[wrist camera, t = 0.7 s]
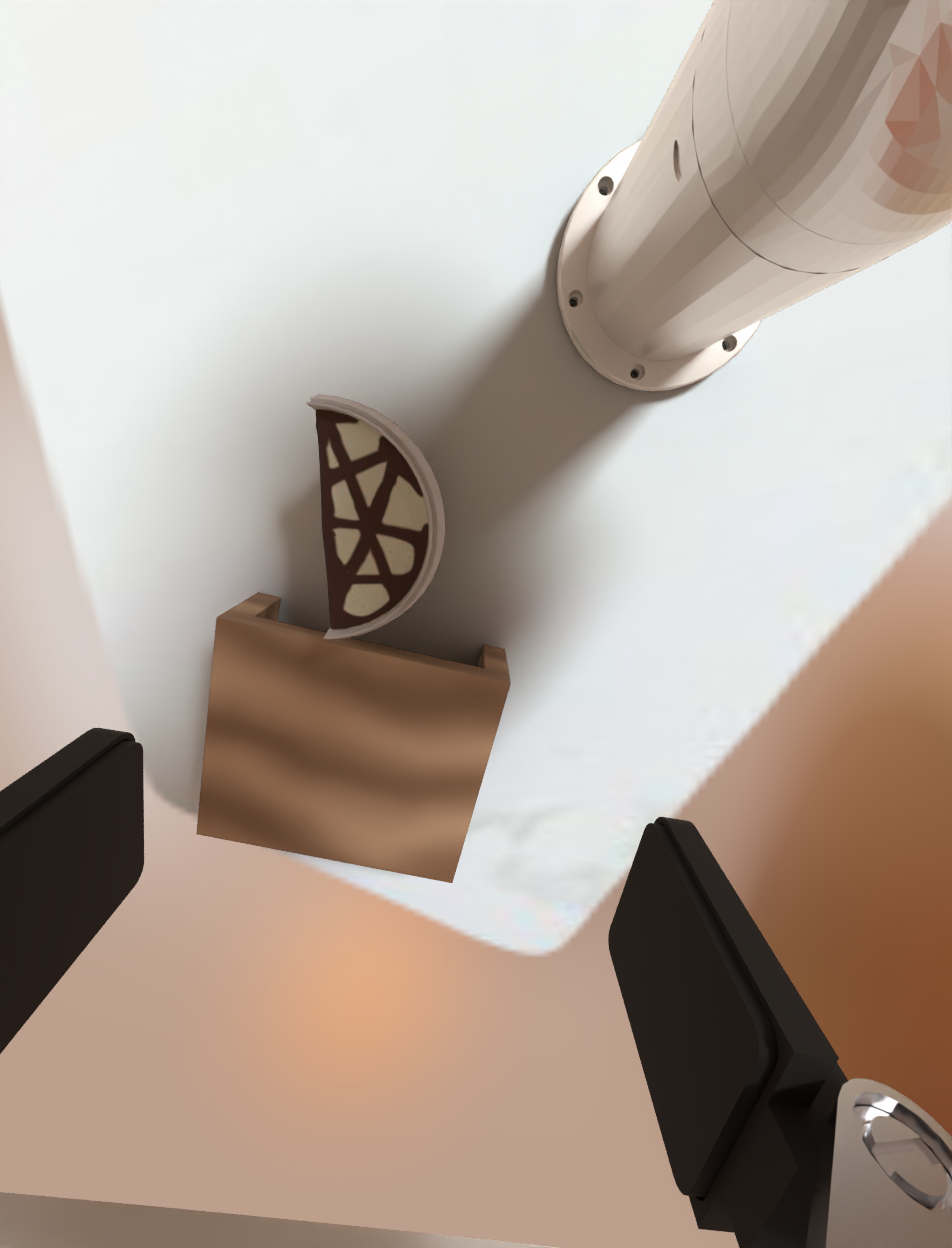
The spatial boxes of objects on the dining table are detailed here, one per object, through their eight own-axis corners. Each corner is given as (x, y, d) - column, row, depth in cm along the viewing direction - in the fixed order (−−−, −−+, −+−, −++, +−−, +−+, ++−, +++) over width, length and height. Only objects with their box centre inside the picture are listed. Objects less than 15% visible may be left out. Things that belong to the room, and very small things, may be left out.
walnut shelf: (258, 592, 35) (216, 617, 30) (504, 649, 37) (510, 683, 31) (235, 781, 40) (196, 834, 34) (455, 825, 42) (452, 883, 36)
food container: (450, 600, 36) (442, 651, 26) (364, 598, 36) (324, 648, 26) (452, 413, 32) (443, 392, 22) (355, 410, 32) (305, 388, 22)
